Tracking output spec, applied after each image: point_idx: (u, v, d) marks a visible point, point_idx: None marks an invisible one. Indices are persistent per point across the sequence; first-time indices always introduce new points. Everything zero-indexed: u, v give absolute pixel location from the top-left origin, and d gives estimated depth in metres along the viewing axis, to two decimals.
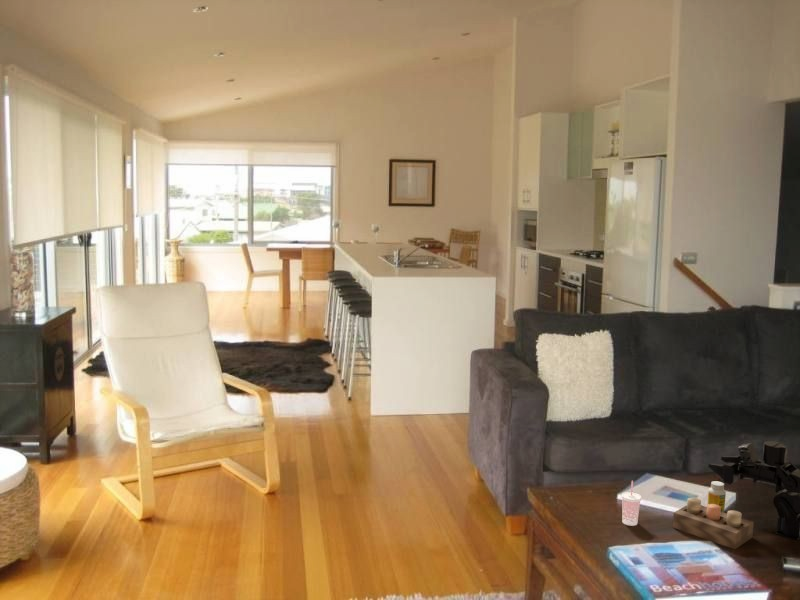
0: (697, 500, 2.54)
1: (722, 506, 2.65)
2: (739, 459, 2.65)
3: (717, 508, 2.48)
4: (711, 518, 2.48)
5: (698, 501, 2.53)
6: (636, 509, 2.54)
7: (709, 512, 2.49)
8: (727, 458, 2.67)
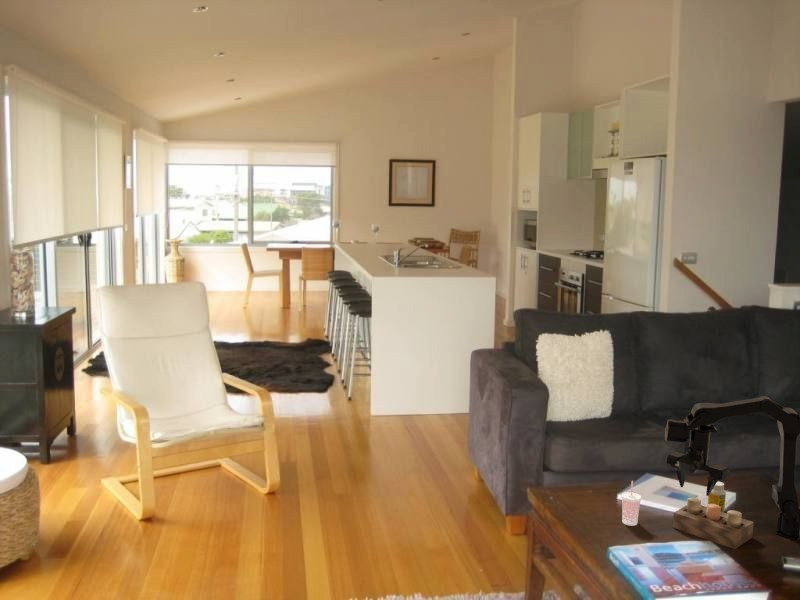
0: (697, 500, 2.54)
1: (722, 506, 2.65)
2: (681, 469, 2.56)
3: (717, 508, 2.48)
4: (711, 518, 2.48)
5: (698, 501, 2.53)
6: (636, 509, 2.54)
7: (709, 512, 2.49)
8: (682, 480, 2.56)
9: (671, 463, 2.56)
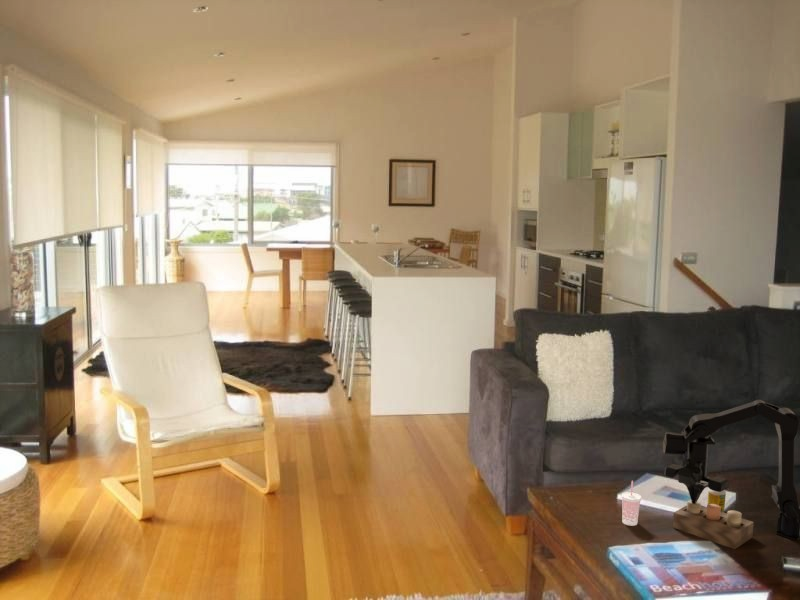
0: (697, 503, 2.54)
1: (722, 506, 2.65)
2: (692, 485, 2.53)
3: (717, 508, 2.48)
4: (711, 518, 2.48)
5: (698, 504, 2.53)
6: (636, 509, 2.54)
7: (709, 512, 2.49)
8: (693, 496, 2.54)
9: (670, 475, 2.56)
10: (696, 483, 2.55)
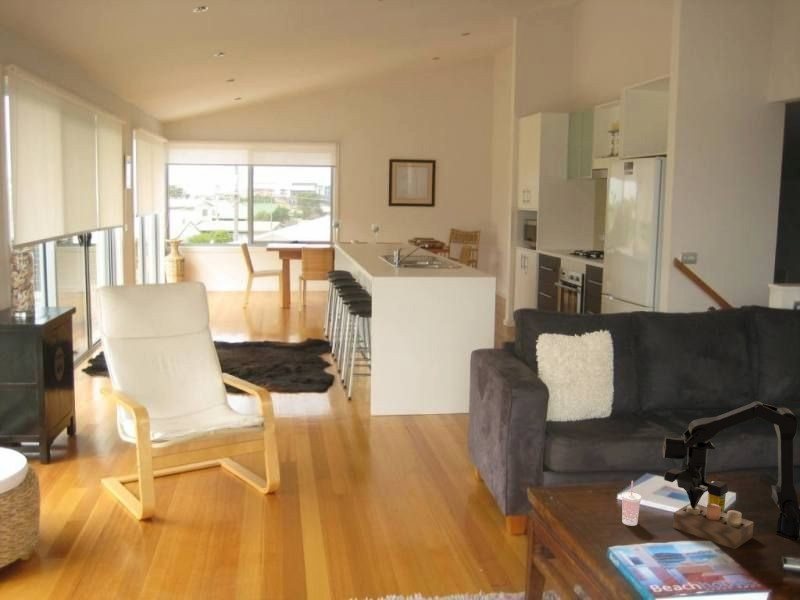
0: (696, 508, 2.54)
1: (722, 506, 2.65)
2: (691, 490, 2.54)
3: (717, 508, 2.48)
4: (711, 518, 2.48)
5: (697, 509, 2.54)
6: (636, 509, 2.54)
7: (709, 512, 2.49)
8: None
9: (669, 480, 2.56)
10: (695, 488, 2.55)
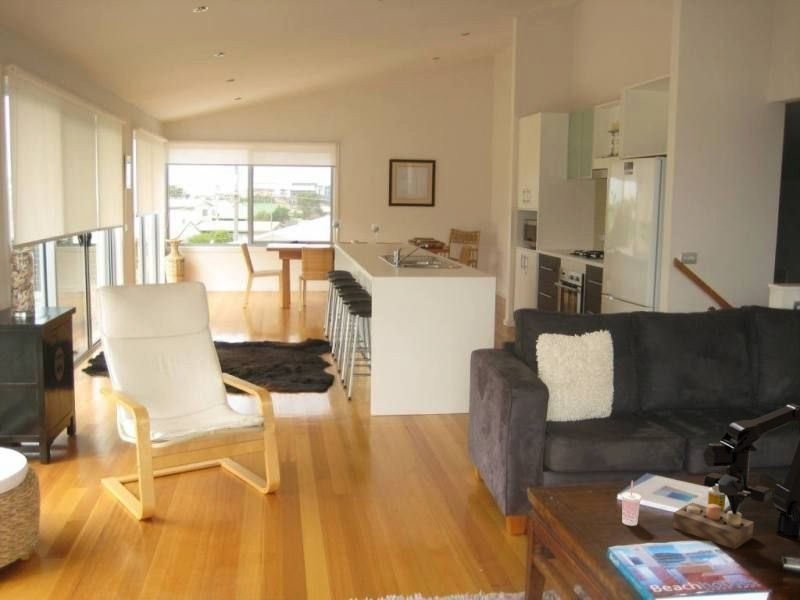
0: (696, 508, 2.54)
1: (722, 506, 2.65)
2: (732, 495, 2.44)
3: (717, 508, 2.48)
4: (711, 518, 2.48)
5: (697, 509, 2.54)
6: (636, 509, 2.54)
7: (709, 512, 2.49)
8: None
9: (709, 485, 2.47)
10: (736, 493, 2.46)
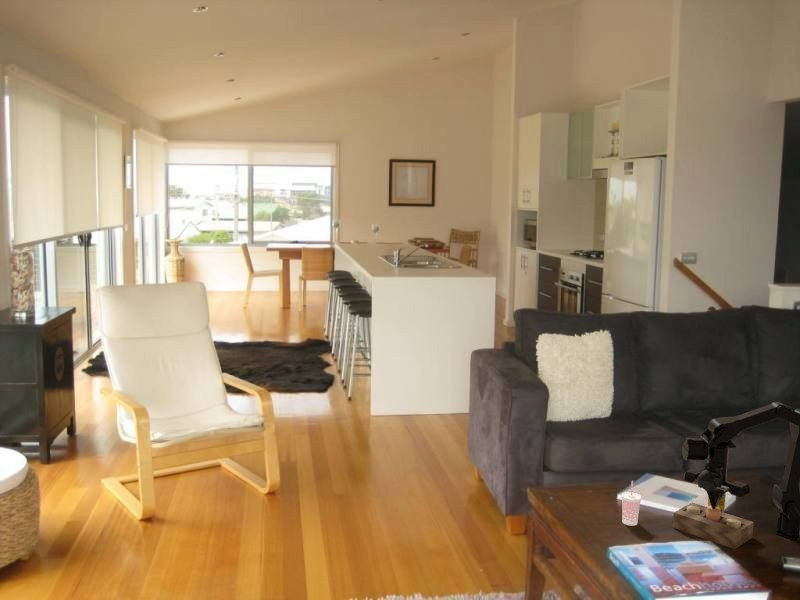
0: (696, 508, 2.54)
1: (722, 506, 2.65)
2: (712, 490, 2.49)
3: (717, 510, 2.48)
4: (711, 519, 2.48)
5: (697, 509, 2.54)
6: (636, 509, 2.54)
7: (709, 514, 2.49)
8: (713, 502, 2.49)
9: (689, 480, 2.51)
10: (716, 488, 2.50)
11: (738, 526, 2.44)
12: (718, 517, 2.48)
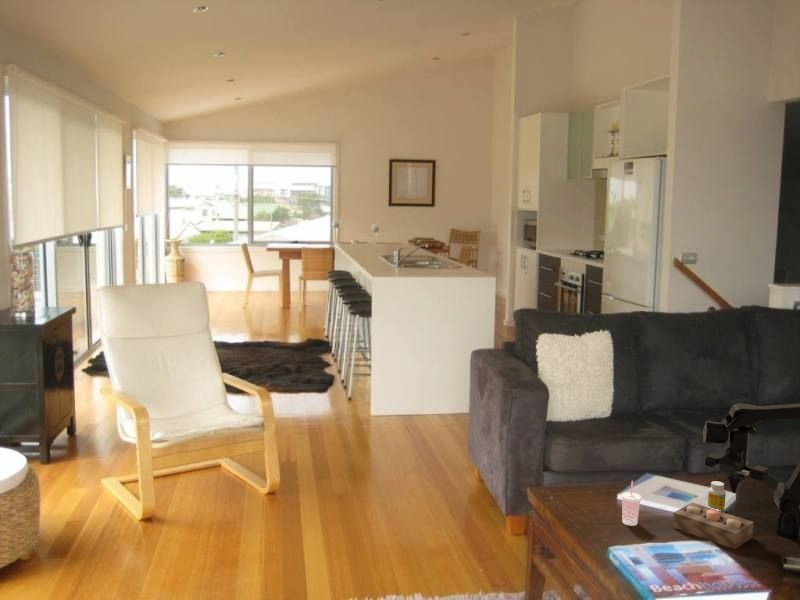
0: (696, 508, 2.54)
1: (722, 506, 2.65)
2: (732, 474, 2.50)
3: (717, 514, 2.48)
4: None
5: (697, 509, 2.54)
6: (636, 509, 2.54)
7: (708, 518, 2.49)
8: None
9: (710, 465, 2.53)
10: (736, 472, 2.52)
11: (738, 526, 2.44)
12: None
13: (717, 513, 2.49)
